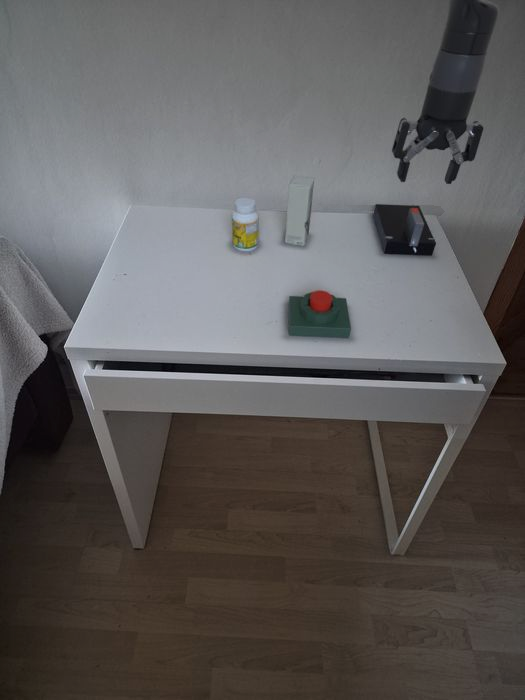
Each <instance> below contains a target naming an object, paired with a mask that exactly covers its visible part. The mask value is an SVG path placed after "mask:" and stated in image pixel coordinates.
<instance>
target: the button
mask: <svg viewBox="0 0 525 700" xmlns="http://www.w3.org/2000/svg"><path fill="white" fill-rule="evenodd" d="M312 292H313V293H312V294H311V296H310V303H309V305H310V307H311V309H313V310H316V311H321V312H325V311H328V310H329V309H330V308H331V303H332V296H331V295H332V294H331V293H330V292H328V291H325V290H322V289H321V290H320V289H319V290H314V291H312Z"/></svg>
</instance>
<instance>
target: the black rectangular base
mask: <svg viewBox="0 0 525 700" xmlns="http://www.w3.org/2000/svg"><path fill="white" fill-rule="evenodd" d="M411 208H418V210H419V213H420V215H421V218H422V220H423V222H424V226H423V230H422V233H421V236H420V239H419V242H418V246H409V243H408V241H407V238H406V235H405V233H404V228H405V224H406V221H407V217H408V213H409V210H410V209H411ZM373 209H374V210H373V214H372V218H373V221H374V225H375V228H376V231H377V234H378V235H377V236H378V238H379V241H380V245H381V249H382V252H383V255H398V256H401V255H402V256H425V257H432V256H433V254H434V251H435V249H436V246H437V242H436V238H435V237H434V235H433V233H432V231H431V229H430V227H429V224H428V222H427V219H426V217H425V215H424V213H423V211H422V209H421V207H420V205H412V204H410V205H408V204H387V203H385V204H384V203H375V205H374V208H373Z"/></svg>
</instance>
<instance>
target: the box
mask: <svg viewBox="0 0 525 700" xmlns="http://www.w3.org/2000/svg"><path fill="white" fill-rule="evenodd" d="M314 185H315V177H311V176H305V175H298V174H294V175H293V176H292V178H291V179H290V182H289V184H288V192H287V203H286V204H287V206H286V219H285V220H286V222H285V235H284V244H288V245H295V246H302V247H304V246H305V245H306V243H307V240H308V238H309V233H310V225H311V224H310V223H311V216H312V206H313V205H312V204H313V197H314V196H313V194H314Z"/></svg>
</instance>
